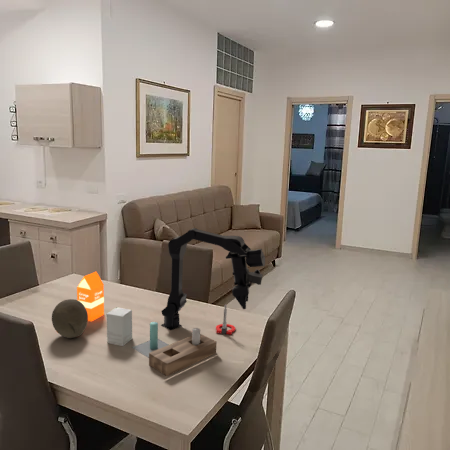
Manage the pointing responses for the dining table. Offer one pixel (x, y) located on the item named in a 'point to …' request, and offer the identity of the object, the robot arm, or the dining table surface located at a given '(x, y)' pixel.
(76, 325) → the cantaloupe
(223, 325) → the tow hook
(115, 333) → the supplement box
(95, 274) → the orange juice
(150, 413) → the dining table surface
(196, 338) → the grey peg
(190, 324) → the dining table surface
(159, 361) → the hole block
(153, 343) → the teal peg
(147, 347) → the mat
